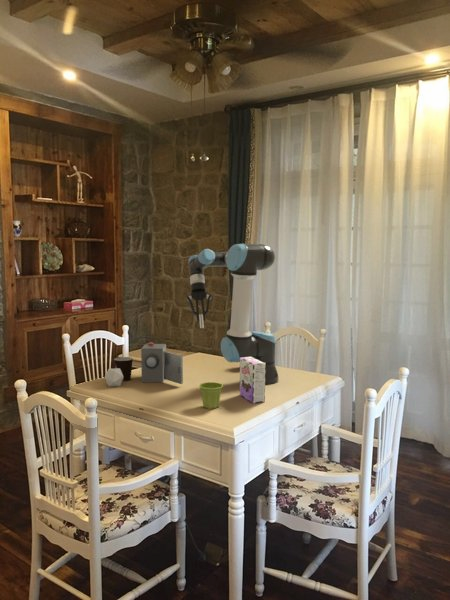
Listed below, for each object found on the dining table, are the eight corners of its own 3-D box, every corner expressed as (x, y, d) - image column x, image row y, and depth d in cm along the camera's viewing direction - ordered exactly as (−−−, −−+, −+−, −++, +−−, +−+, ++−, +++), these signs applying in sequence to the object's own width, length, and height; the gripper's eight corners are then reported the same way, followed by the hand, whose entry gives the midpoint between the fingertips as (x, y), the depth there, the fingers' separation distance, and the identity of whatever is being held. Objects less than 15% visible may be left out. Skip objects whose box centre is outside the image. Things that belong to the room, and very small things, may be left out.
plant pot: (223, 410, 197) (223, 388, 197) (199, 410, 197) (199, 388, 196) (222, 403, 207) (222, 382, 206) (198, 403, 206) (198, 382, 205)
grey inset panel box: (162, 383, 236) (162, 347, 235) (140, 383, 237) (140, 347, 235) (166, 376, 251) (166, 341, 249) (145, 375, 251) (145, 341, 249)
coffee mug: (130, 381, 239) (130, 360, 238) (112, 381, 239) (112, 360, 238) (135, 375, 251) (135, 355, 250) (118, 375, 251) (118, 355, 250)
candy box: (238, 394, 218) (239, 357, 217) (251, 393, 221) (251, 356, 219) (252, 403, 206) (252, 363, 204) (265, 402, 208) (266, 362, 206)
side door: (161, 379, 239) (161, 351, 237) (165, 378, 240) (165, 351, 239) (179, 384, 229) (179, 356, 228) (183, 383, 230) (183, 355, 229)
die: (125, 384, 237) (113, 367, 238) (129, 379, 230) (118, 361, 231) (110, 393, 232) (98, 375, 234) (114, 388, 225) (103, 370, 227)
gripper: (210, 286, 269) (215, 328, 261) (185, 288, 268) (188, 330, 260) (210, 280, 262) (215, 323, 254) (184, 282, 261) (188, 326, 253)
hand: (202, 327), depth 257 cm, fingers closed
